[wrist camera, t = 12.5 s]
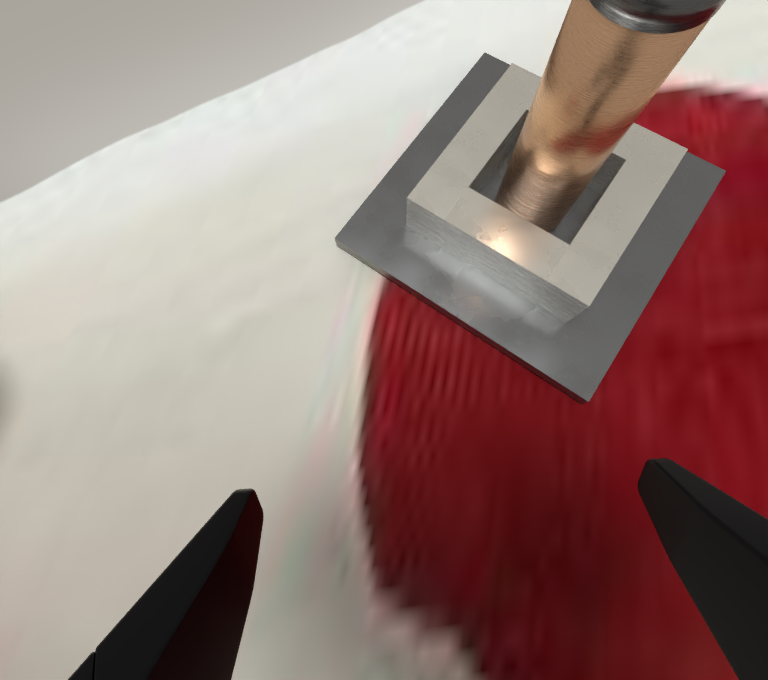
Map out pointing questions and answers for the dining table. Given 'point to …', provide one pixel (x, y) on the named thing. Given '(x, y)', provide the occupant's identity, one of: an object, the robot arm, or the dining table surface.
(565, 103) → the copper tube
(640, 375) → the dining table surface
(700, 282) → the dining table surface
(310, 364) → the dining table surface
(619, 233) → the frame
